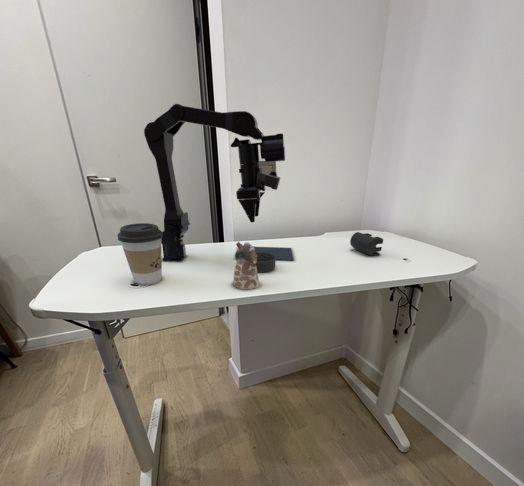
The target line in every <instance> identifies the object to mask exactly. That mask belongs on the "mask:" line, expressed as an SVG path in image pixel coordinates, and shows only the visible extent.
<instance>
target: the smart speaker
mask: <svg viewBox="0 0 524 486" xmlns="http://www.w3.org/2000/svg"><path fill="white" fill-rule="evenodd" d="M256 254H257V255H258V257H257V261H256V266H257V273H267V272H271V271H273V270H274V269H275V268H276V262H277V260H276V259H275V257H274V256H273V255H271V254H268V253H256Z"/></svg>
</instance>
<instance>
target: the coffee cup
mask: <svg viewBox="0 0 524 486" xmlns="http://www.w3.org/2000/svg"><path fill="white" fill-rule="evenodd" d="M162 232H163V231H162V230H161V229H160V228H159V226H158V225H157V224H155V223H147V222H145V223H144V222H141V223H140V222H139V223H131V224H130V223H129V224H126V225H123V226H120V228H119V232H118V233H117V240H118V241H119V242H120V244H121V247H122V250H123V252H124V256H125V259H126V261H127V264H128V267H129V270H130V273H131V276H132V278H133V281H134V283H136V284H137V285H140V286H150V285H155V284H157V283H159V282H161V281H162V277H163V273H162V272H163V271H162V270H163V268H162V267H163V266H162V265H163V264H162V262H163V261H162V259H163V258H162V255H163V251H162V244H161V238H162V237H163V234H162Z"/></svg>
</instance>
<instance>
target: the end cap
mask: <svg viewBox="0 0 524 486" xmlns="http://www.w3.org/2000/svg"><path fill="white" fill-rule="evenodd" d="M349 244H350V246H351V247H352V249H354V250H356V251H358V252H360V253H363V254H365V255H367V256H369V257H374V256H376V257H377V256H380V252H381V251H382V249H383V247H382V246H377V245H383V244H384V238H383V237H380V236H373V234H371V233H368V232H366V233H365V232H364V233H362V232H359V231H356V232H354V233H352V236H351V237H350V242H349Z"/></svg>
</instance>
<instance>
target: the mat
mask: <svg viewBox="0 0 524 486" xmlns="http://www.w3.org/2000/svg"><path fill="white" fill-rule="evenodd" d="M253 247H254V249H255V252H256V253H268V254H271V255H273V256H274V257H275V259H276V261H284V262H285V261H287V262H294V259H295V258H294V256H293V255H294V254H293V251H292V247H273V246H272V247H271V246H253ZM238 257H240V258H241V257H242V254H241V253H239V254H238Z"/></svg>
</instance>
